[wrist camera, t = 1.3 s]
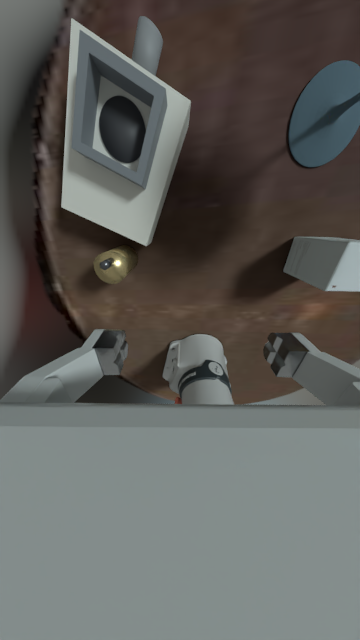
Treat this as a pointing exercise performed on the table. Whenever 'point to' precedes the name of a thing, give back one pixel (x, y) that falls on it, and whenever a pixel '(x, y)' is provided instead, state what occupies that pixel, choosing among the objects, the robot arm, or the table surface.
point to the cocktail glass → (326, 114)
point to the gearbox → (120, 132)
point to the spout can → (115, 263)
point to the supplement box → (325, 262)
